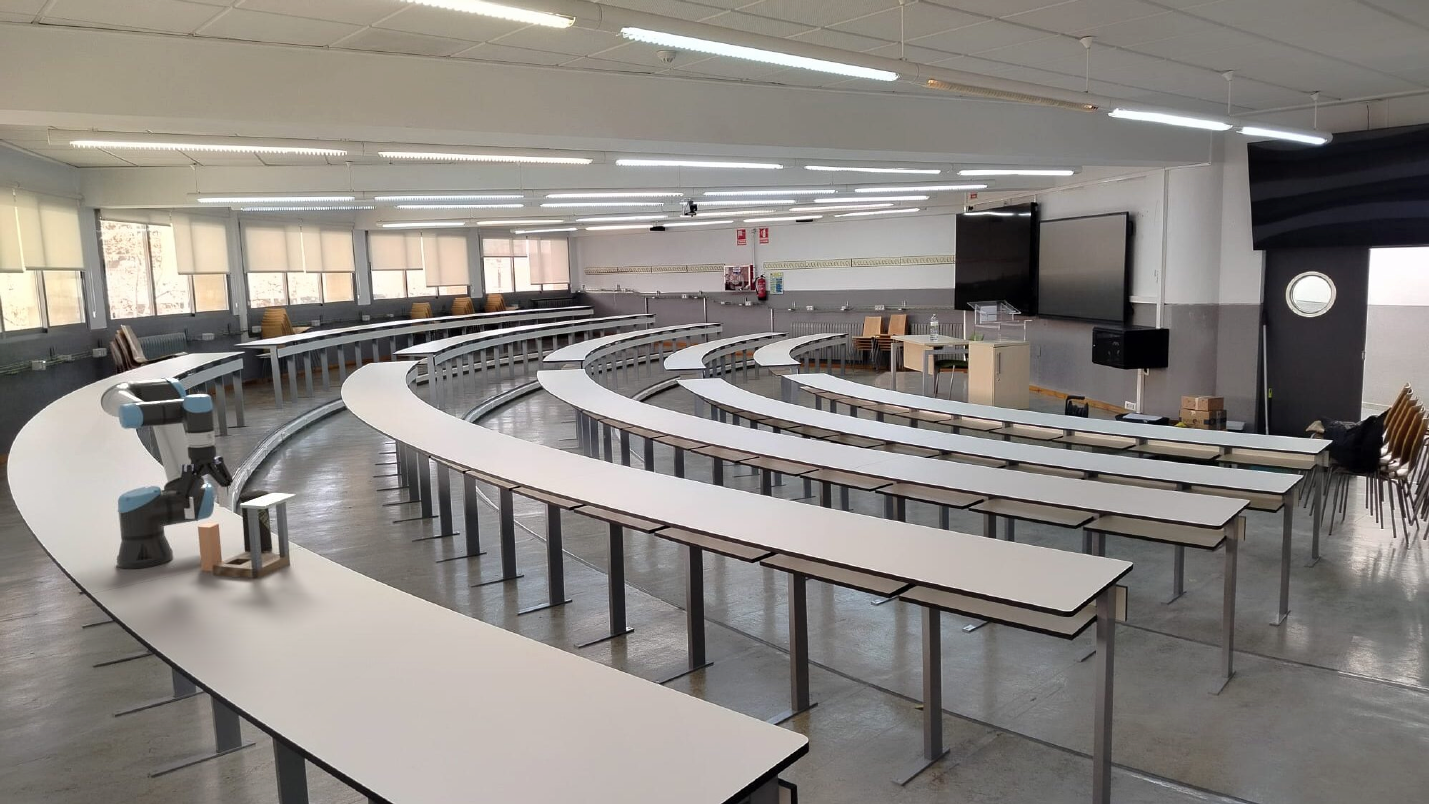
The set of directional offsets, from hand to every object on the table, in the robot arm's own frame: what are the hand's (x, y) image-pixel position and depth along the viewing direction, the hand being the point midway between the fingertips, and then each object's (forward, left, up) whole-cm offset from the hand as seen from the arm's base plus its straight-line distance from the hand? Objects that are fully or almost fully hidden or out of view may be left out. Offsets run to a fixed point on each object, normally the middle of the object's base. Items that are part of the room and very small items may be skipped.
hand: (207, 512), depth 274 cm
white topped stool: (+21, +2, -18) cm, 27 cm away
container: (+1, +19, -18) cm, 26 cm away
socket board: (+13, +2, -18) cm, 22 cm away
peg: (0, 0, -18) cm, 18 cm away
